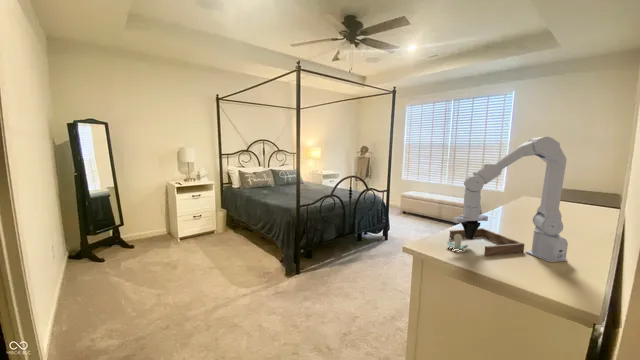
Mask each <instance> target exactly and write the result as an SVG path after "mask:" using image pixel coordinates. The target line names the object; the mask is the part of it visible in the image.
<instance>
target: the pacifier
mask: <svg viewBox="0 0 640 360" xmlns="http://www.w3.org/2000/svg"><path fill="white" fill-rule="evenodd" d="M453 240H454V242H451V241H447V245H448V246H447V247H448V248H449V249H452V248H454V249H459V250H462V251H459V250H455V251H459V252H458V253H461V252H463V253H466V252H465V251H466V249H467V248H468V247H469V245H467V244H465V245H462V241H463V238H462V236H461V235H460V234H456V235H455V236H454V239H453ZM450 247H452V248H450ZM448 248H447V249H448ZM449 249H448V250H449ZM454 249H452V250H454Z"/></svg>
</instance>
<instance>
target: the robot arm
mask: <svg viewBox="0 0 640 360" xmlns="http://www.w3.org/2000/svg"><path fill="white" fill-rule="evenodd" d="M530 156H531V157H532V156H535V157H539V158H540V160H542V161H543V162H544V163H546V166H545V171H544V172H545V173H544V179H543V186H542V193H541V200H540V205H539V206H538V207H537V208H536V213H535V214H534V215H533V216H532V224H533V225H534V226H535V227H534V229H533V234H532V244H531V245H532V246H531V250H524V251H525V254H528V255H532V256H534V257H537V258H539V259H542V260H544V261H546V262H549V263H553V262H554V263H555V262H565V261H568V258H567V254H568V253H567V252H568V240H567V239H566V238H564V237H562V236H561V235H560V233H562V232H563V230H564V224H563V221H562V217H563V215H562V214H561V210H560V203H561V197H562V191H563V186H564V185H563V184H564V179H565V173H566V172H565V171H566V165H567V157H566V155H565V153H564V150H562V148H561V143H560V142H559V141H557V140H556V139H554V138H553V137H551V136H541V137H539V136H537V137H536V136H535V137H532V138H530V139H528V141H525V142H522V144H520V145H519V146H517V147H516V148H514V149H513V150H512V151H510V152H509V153H507V154H506V155H504V156H503V157H502V158H500V159H499V160H498V161H496V162H489V163H484V164H483V167H482V168H480V169H478V171H474V172H472V175H469V176H467V177H465V179H464V181H463V185H464V187H465V189H464V194H463V210H462V211H463V212H462V214H461V215H459V216H455V217H453V219H452V220H453V221H452V222H453V223H455V224H459V223H460V224H461V226H462V228H463V230H464V231H465V235H466V238H465V239H467V240H468V241H473V239H474V238H475V237H474V234H475V232H476V230H477V229H479V228H480V226H481V222H483V221H484V222H488V219H489V216H488V215H484V214H483V215H481V214H480V210H481V200H482V199H481V198H482V197H481V193H482V189H483V187H484V186H485V185H487V184H489V183H490V182H491V181H493V180H494V179H497V178H498V177H499V176H501V174H502V171H503V169H505V168H506V167H507V168H508V167H509V166H510V165H513V164H514V163H515V162H516V161H518V160H521V159H522V158H524V157H530Z"/></svg>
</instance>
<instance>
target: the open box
mask: <svg viewBox="0 0 640 360" xmlns="http://www.w3.org/2000/svg"><path fill="white" fill-rule="evenodd" d="M456 234H460V235H461V236H462V239H466V235H465V231H464V229H455V230H449V239H450V238H451V239H450V240H453V239H452V238H454V236H455V235H456ZM479 237H482V238H484V239H486V240H489V241H492V242H494V243H496V245H495V244H494V245H488V246H484V256H485V257H493V256H504V255H513V254H514V255H515V254H521V253H522V254H523V253H524V251H525V243H524V242H521V241H518V240H515V239H513V238H510V237H507V236H505V235H501V234H499V233H497V232H495V231H491V230H489V229H485V228H484V227H483V228H480V227H478V229H477V230H476V232H475V234H474V237H473V238H479Z"/></svg>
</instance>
